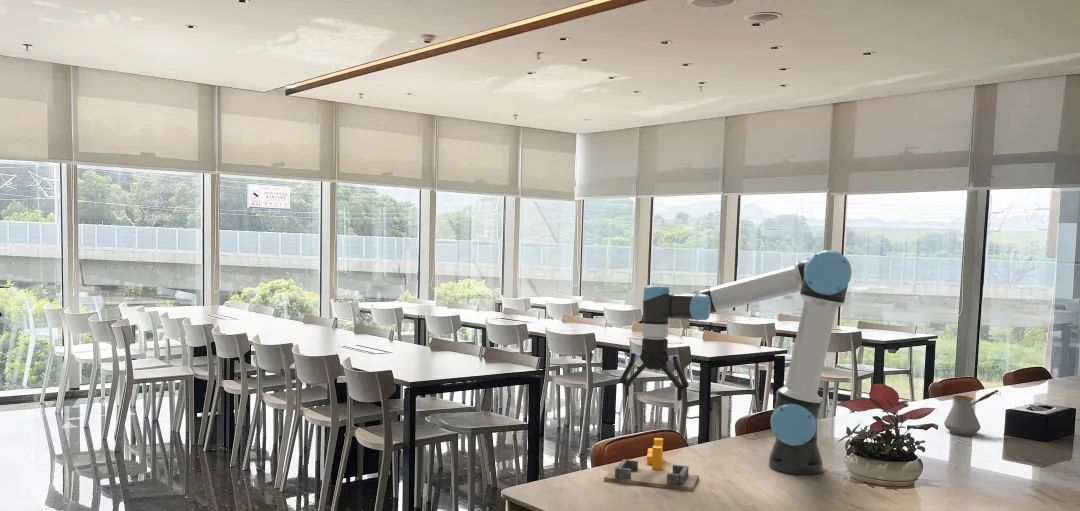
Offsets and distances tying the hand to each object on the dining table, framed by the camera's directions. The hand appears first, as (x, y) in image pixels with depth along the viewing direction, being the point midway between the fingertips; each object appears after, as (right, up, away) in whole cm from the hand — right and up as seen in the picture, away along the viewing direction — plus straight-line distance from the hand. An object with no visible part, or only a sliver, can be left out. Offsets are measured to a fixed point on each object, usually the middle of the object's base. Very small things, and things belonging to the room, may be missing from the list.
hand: (653, 409), depth 234 cm
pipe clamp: (0, -16, 0) cm, 16 cm away
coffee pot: (+122, -18, +49) cm, 132 cm away
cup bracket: (-3, -16, -16) cm, 23 cm away
